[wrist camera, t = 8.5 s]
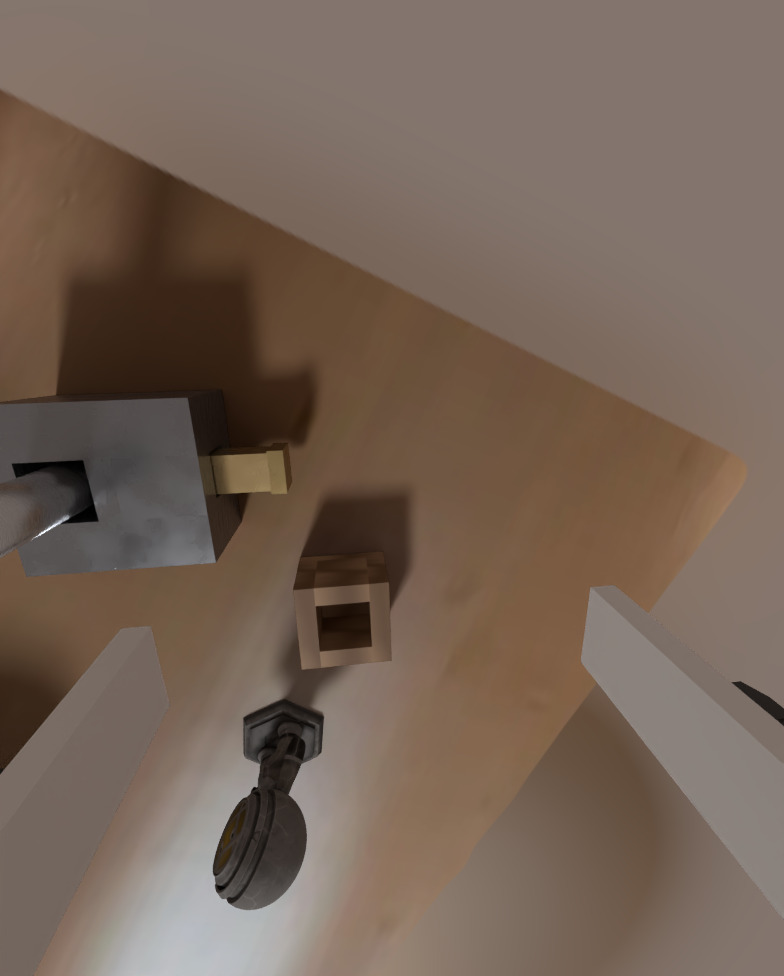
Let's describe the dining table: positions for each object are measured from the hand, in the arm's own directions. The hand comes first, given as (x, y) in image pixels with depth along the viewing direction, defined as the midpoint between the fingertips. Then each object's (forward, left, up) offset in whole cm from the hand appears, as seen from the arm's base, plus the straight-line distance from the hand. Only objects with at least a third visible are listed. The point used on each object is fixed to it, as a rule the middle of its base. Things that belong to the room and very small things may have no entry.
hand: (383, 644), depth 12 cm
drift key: (-10, 0, -24) cm, 26 cm away
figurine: (-10, -32, -27) cm, 43 cm away
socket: (-17, 0, -27) cm, 32 cm away
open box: (-2, -14, -27) cm, 30 cm away
